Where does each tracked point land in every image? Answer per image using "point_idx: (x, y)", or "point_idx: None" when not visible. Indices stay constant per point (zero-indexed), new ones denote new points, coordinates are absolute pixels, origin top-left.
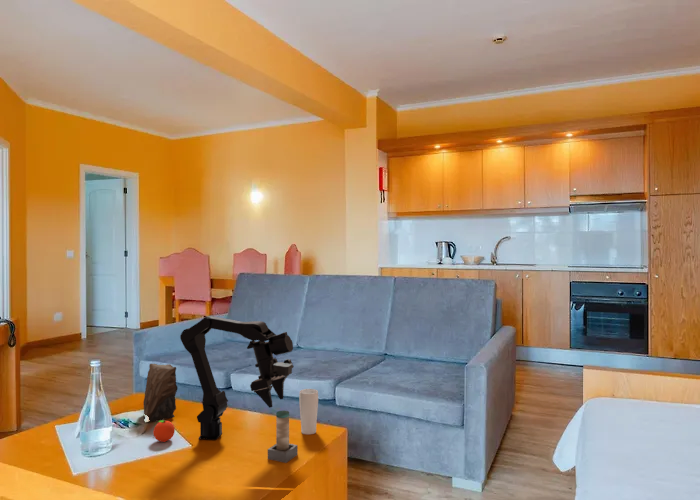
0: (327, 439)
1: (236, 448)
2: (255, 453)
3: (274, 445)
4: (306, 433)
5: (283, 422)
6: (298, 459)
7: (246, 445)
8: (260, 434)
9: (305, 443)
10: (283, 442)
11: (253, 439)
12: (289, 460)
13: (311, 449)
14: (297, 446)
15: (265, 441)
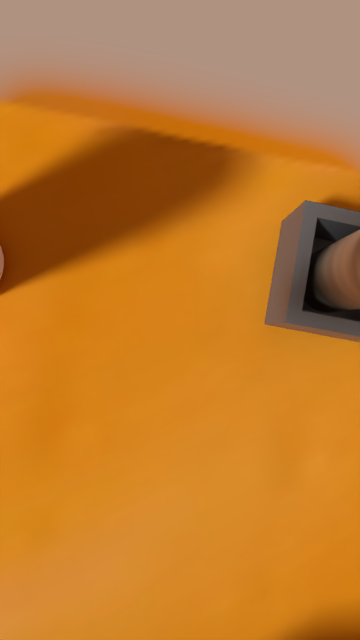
0: (33, 133)
1: (276, 564)
2: (307, 437)
3: (345, 328)
4: (2, 260)
5: None
6: None
7: (226, 532)
8: (56, 533)
9: (119, 233)
10: None
11: (138, 536)
12: None
13: (186, 178)
14: (302, 203)
15: (148, 457)
